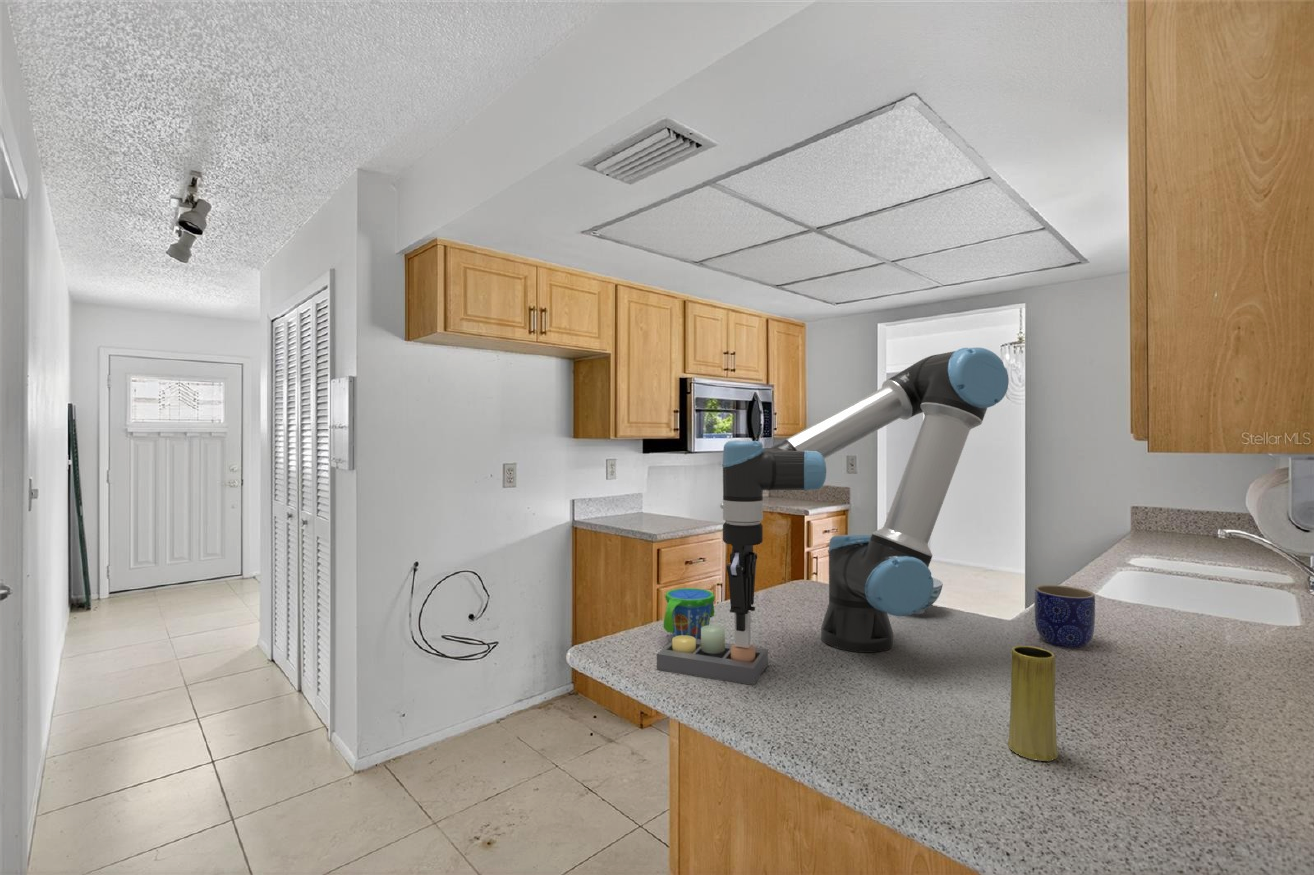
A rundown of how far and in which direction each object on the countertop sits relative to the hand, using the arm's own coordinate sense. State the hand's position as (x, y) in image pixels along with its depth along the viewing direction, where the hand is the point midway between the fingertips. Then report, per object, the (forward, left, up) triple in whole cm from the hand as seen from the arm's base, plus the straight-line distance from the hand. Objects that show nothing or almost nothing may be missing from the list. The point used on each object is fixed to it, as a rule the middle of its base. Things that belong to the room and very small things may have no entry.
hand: (742, 645), depth 119 cm
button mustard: (+12, 0, -4) cm, 13 cm away
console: (+6, 0, -5) cm, 8 cm away
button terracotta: (0, 0, -4) cm, 4 cm away
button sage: (+6, 0, -2) cm, 6 cm away
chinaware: (-28, -56, -5) cm, 62 cm away
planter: (-59, -43, -5) cm, 73 cm away
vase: (-46, +12, -5) cm, 48 cm away
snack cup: (+16, -13, -5) cm, 21 cm away
